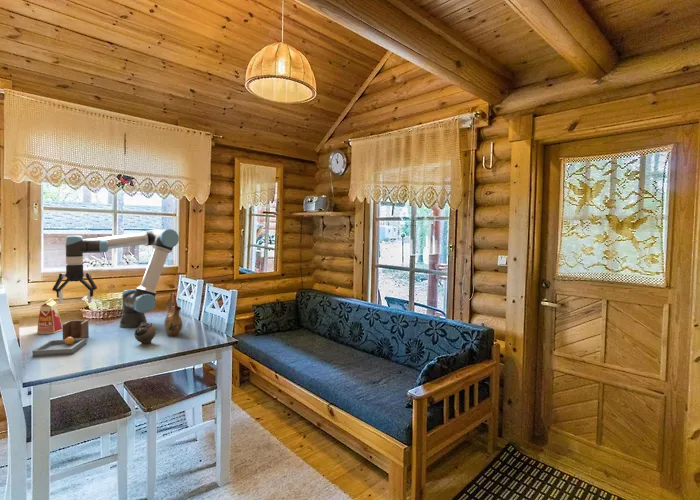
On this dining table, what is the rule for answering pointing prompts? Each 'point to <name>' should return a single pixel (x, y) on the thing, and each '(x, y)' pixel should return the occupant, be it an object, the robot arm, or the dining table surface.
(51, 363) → the dining table surface
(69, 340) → the ball
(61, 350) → the tray
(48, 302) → the milk carton
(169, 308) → the ceramic vessel
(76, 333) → the brown open box
